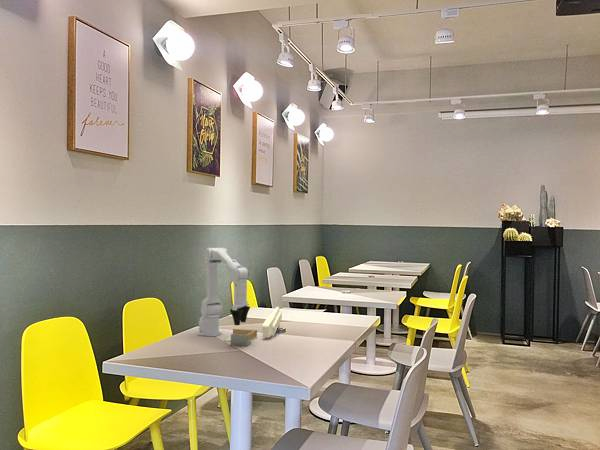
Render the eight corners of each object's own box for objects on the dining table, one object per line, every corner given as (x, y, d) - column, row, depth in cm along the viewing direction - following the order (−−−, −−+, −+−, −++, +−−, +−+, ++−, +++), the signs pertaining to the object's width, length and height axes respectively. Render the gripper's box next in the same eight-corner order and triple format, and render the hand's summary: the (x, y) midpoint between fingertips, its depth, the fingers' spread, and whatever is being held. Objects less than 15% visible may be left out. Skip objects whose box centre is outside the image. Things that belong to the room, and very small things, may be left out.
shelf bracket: (283, 329, 268) (282, 307, 265) (272, 350, 244) (270, 325, 241) (273, 329, 269) (272, 306, 266) (261, 349, 245) (259, 325, 242)
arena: (224, 341, 238) (224, 333, 238) (233, 336, 250) (233, 328, 250) (248, 343, 235) (248, 335, 235) (256, 337, 247) (256, 330, 247)
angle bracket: (230, 345, 231) (230, 334, 231) (234, 343, 236) (234, 332, 236) (247, 346, 229) (247, 335, 229) (251, 344, 234) (251, 333, 234)
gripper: (242, 296, 223) (242, 327, 223) (254, 292, 237) (253, 321, 237) (228, 295, 225) (227, 326, 225) (239, 291, 239) (239, 320, 239)
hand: (240, 323), depth 231 cm, fingers open, 7 cm apart
